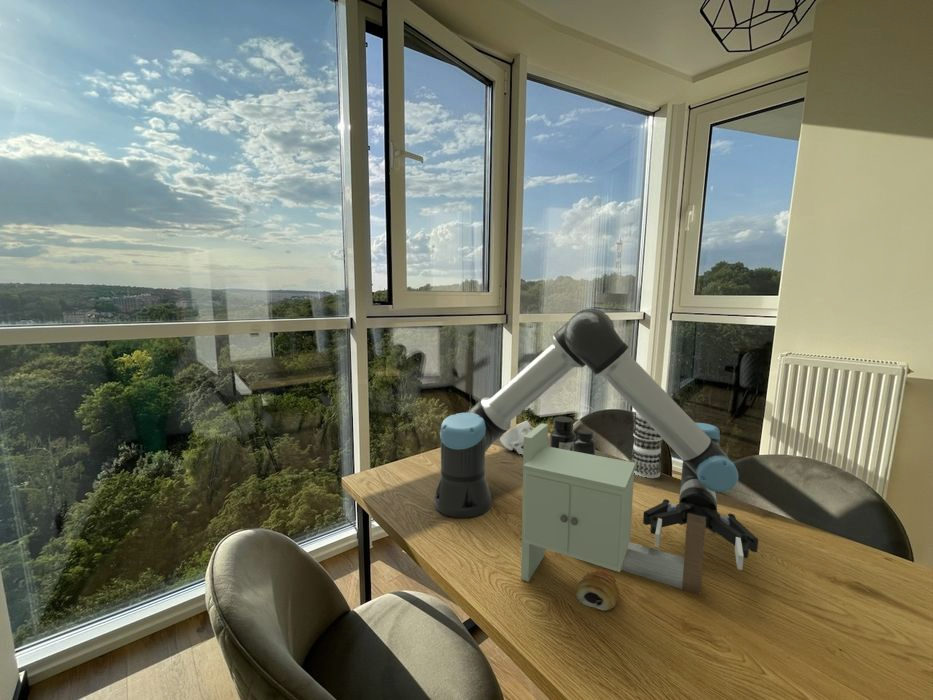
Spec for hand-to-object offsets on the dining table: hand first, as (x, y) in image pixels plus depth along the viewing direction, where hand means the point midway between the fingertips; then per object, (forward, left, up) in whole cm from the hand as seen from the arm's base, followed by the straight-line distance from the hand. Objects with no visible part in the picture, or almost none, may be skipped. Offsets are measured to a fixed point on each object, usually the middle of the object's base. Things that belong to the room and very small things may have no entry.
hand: (696, 551), depth 77 cm
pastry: (-16, -10, -8) cm, 20 cm away
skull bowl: (-56, +50, -8) cm, 76 cm away
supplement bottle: (-32, +46, -8) cm, 57 cm away
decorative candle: (-14, +52, -8) cm, 55 cm away
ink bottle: (-42, +56, -8) cm, 71 cm away
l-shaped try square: (-11, +1, -8) cm, 13 cm away
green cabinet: (-19, -11, -8) cm, 24 cm away
